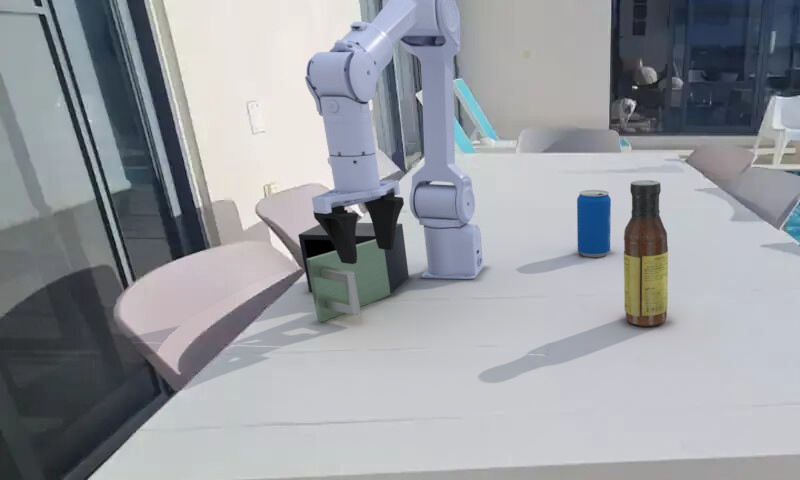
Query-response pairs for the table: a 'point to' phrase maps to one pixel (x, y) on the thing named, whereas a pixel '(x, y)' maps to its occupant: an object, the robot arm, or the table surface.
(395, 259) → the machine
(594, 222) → the beverage can
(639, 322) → the sauce bottle
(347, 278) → the machine door
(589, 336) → the table surface
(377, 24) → the robot arm
